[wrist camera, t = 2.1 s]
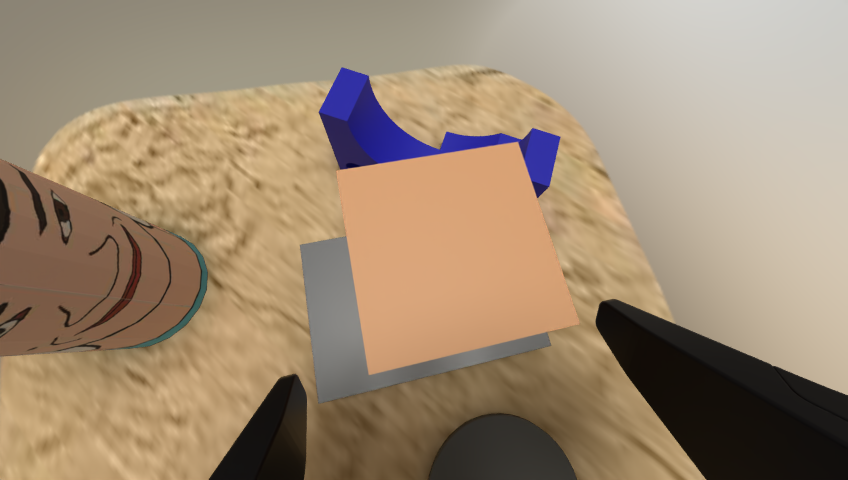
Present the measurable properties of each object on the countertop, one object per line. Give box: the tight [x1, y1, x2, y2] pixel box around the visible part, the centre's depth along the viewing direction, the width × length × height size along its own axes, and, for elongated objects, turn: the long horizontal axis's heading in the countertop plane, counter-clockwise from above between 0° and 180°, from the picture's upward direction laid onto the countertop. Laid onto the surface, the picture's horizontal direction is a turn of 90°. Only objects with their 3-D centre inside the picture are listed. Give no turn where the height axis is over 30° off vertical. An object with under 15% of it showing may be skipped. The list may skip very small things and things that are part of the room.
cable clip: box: [319, 68, 560, 198], centre depth 19 cm, size 12×4×6 cm, turn 72°
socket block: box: [300, 236, 551, 404], centre depth 18 cm, size 8×12×2 cm, turn 103°
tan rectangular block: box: [336, 142, 580, 375], centre depth 13 cm, size 5×5×12 cm
